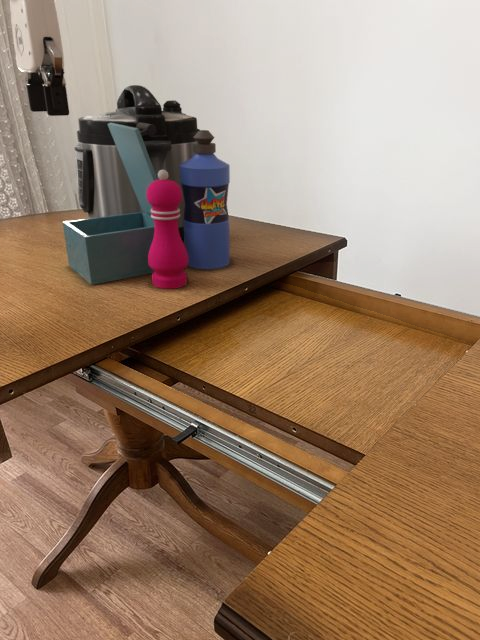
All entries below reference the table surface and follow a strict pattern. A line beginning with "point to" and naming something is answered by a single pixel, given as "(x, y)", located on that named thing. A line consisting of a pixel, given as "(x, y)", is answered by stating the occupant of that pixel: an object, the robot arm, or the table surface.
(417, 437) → the table surface
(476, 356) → the table surface
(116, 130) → the bin lid
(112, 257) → the bin
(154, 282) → the pepper mill
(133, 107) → the pressure cooker
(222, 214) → the water bottle
